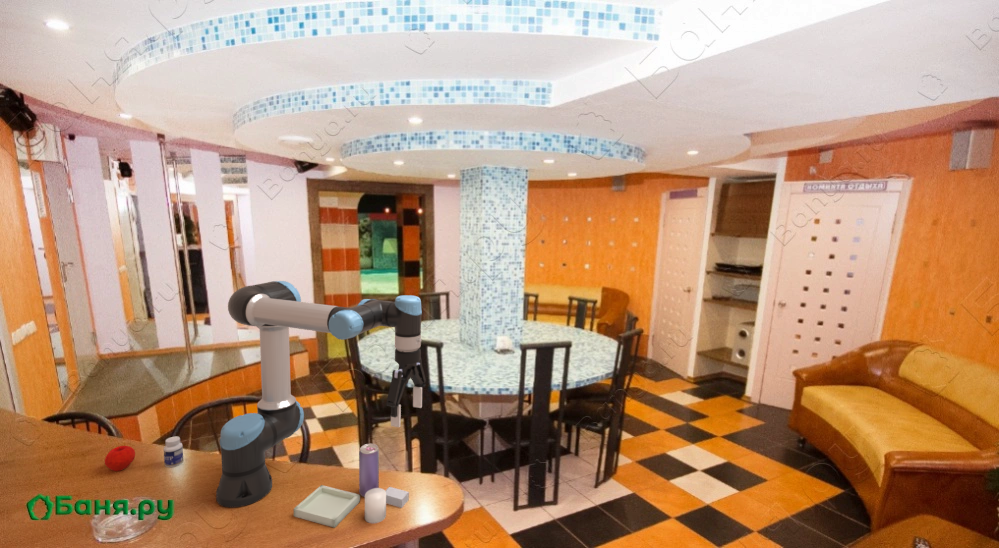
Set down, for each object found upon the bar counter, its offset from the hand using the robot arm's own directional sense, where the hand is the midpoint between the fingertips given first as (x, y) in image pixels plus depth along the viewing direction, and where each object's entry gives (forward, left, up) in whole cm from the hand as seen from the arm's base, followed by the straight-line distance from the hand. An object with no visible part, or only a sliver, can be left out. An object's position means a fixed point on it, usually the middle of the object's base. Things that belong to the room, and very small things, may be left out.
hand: (407, 416), depth 132 cm
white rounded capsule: (-5, -9, -28) cm, 30 cm away
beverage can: (-13, 0, -28) cm, 31 cm away
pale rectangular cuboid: (-3, -1, -28) cm, 28 cm away
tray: (-20, -11, -28) cm, 36 cm away
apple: (-97, -17, -28) cm, 102 cm away
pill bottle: (-84, -9, -28) cm, 89 cm away
